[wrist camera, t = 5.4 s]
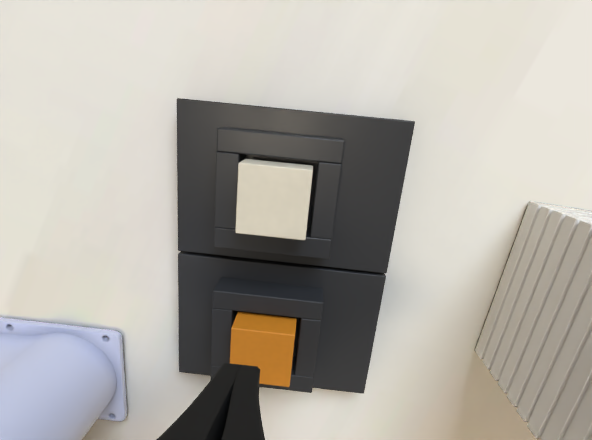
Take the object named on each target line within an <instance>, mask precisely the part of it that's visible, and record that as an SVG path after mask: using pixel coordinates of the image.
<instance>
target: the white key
mask: <svg viewBox="0 0 592 440" xmlns="http://www.w3.org/2000/svg"><path fill="white" fill-rule="evenodd" d="M312 175H313V166H312V165H304V164H294V163H284V162H274V161H264V160H254V159H244V160H243V161H241V162H239V163H238V183H237V206H236V229H235V232H236V233H240V234H250V235H259V236H268V237H278V238H287V239H296V240H305V239H306V231H307V222H308V212H309V203H310V194H311V185H312Z"/></svg>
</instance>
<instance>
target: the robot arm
mask: <svg viewBox="0 0 592 440" xmlns="http://www.w3.org/2000/svg"><path fill="white" fill-rule="evenodd" d="M106 336H108V337H109V338H107V337H106ZM259 381H260V369H259V368H258V366H249V365H239V364H230V363H224V364H223V365H222V366H221V367H220V368H219V370H218V371H217V373H216V374H215V375H214V377H213V378H212V379H211V381H210V382H209V383H208V385H207V386H206V387H205V388H204V390H203V391H202V392H201V393H200V394H199V396H198V397H197V398H196V399H195V400H194V401H193V403H192V404H191V405H190V406H189V407H188V408H187V409H186V410H185V412H184V413H183V414H182V415H181V416H180V417H179V418H178V419H177V420H176V421H175V422H174V423H173V424H172V425H171V426H170V427H169V428H168V429H167V430H166V431H165V432H164V433H163V434H162V435H161V436H160V437H159V438H158V439H157V440H265V437H264V432H263V427H262V421H261V414H260V406H259ZM126 416H127V403H126V388H125V372H124V357H123V342H122V335H121V334H120V332H118V331H115V330H107V329H98V328H90V327H81V326H72V325H63V324H55V323H46V322H37V321H29V320H20V319H11V318H3V317H0V440H82V439H83V438H84V436H85V435H86V434H87V432H88V431H89V430H90V428H91V427H92V425H93V424H94V423H95V421H96V420H97V419H104V420H112V421H123V420H124V419H125V418H126Z"/></svg>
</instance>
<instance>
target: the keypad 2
mask: <svg viewBox="0 0 592 440" xmlns="http://www.w3.org/2000/svg"><path fill="white" fill-rule="evenodd" d="M414 124H415V122H414V121H405V120H395V119H385V118H374V117H364V116H354V115H344V114H333V113H323V112H313V111H302V110H292V109H282V108H272V107H261V106H251V105H241V104H231V103H220V102H210V101H200V100H189V99H179V98H178V99H177V169H178V250H179V251H187V252H196V253H205V254H214V255H224V256H233V257H242V258H251V259H260V260H270V261H279V262H288V263H297V264H307V265H316V266H325V267H334V268H343V269H353V270H362V271H371V272H380V273H386V272H387V267H388V262H389V257H390V252H391V246H392V241H393V236H394V230H395V225H396V220H397V214H398V209H399V204H400V199H401V193H402V188H403V183H404V177H405V172H406V167H407V161H408V156H409V151H410V145H411V140H412V135H413V130H414ZM244 159H254V160H264V161H274V162H284V163H294V164H304V165H312V166H313V175H312V185H311V194H310V203H309V212H308V222H307V231H306V239H305V240H296V239H287V238H278V237H268V236H259V235H250V234H240V233H236V232H235V229H236V206H237V183H238V163H239V162H241V161H243V160H244Z"/></svg>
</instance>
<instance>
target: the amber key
mask: <svg viewBox="0 0 592 440" xmlns="http://www.w3.org/2000/svg"><path fill="white" fill-rule="evenodd" d="M296 321H297V319H296V318H291V317H282V316H274V315H265V314H256V313H247V312H238V313H237V315H236V318H235V320H234V323H233V325H232V328H231V344H230V364H239V365H249V366H258V368H259V369H260V381H259V384H266V385H275V386H283V387H289V386H290V378H291V369H292V360H293V351H294V342H295V332H296Z"/></svg>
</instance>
